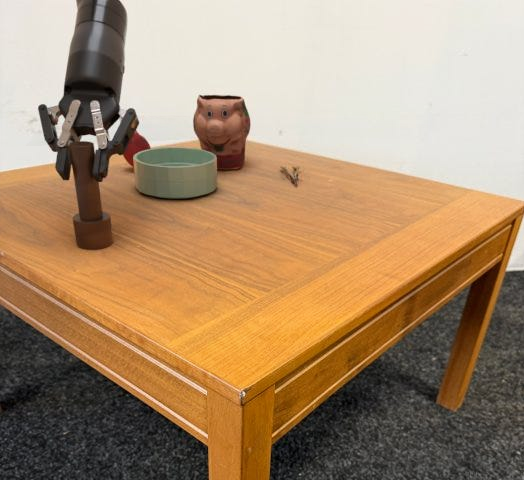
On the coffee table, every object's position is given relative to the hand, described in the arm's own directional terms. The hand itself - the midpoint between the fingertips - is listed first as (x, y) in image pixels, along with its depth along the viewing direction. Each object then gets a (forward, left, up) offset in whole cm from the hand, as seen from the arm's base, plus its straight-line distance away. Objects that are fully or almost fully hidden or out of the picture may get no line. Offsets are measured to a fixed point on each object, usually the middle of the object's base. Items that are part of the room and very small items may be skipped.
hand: (80, 177), depth 74 cm
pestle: (0, +2, -10) cm, 10 cm away
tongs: (+36, +36, -10) cm, 52 cm away
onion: (+4, +43, -10) cm, 44 cm away
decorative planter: (+22, +48, -10) cm, 54 cm away
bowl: (+12, +29, -10) cm, 33 cm away
